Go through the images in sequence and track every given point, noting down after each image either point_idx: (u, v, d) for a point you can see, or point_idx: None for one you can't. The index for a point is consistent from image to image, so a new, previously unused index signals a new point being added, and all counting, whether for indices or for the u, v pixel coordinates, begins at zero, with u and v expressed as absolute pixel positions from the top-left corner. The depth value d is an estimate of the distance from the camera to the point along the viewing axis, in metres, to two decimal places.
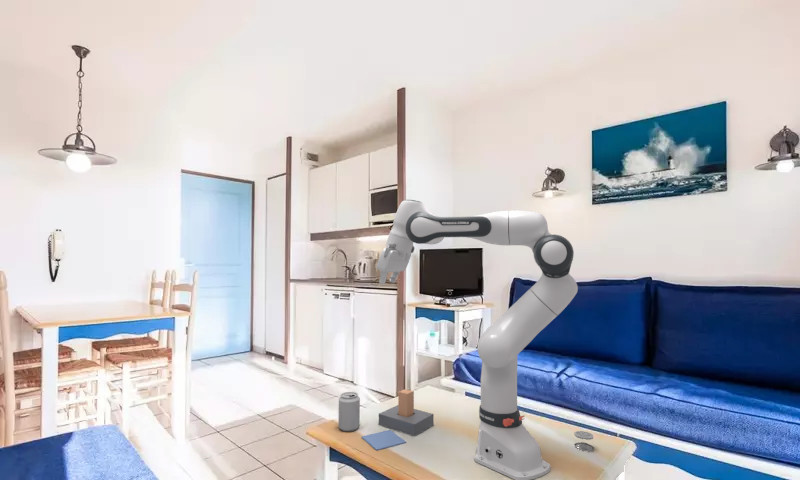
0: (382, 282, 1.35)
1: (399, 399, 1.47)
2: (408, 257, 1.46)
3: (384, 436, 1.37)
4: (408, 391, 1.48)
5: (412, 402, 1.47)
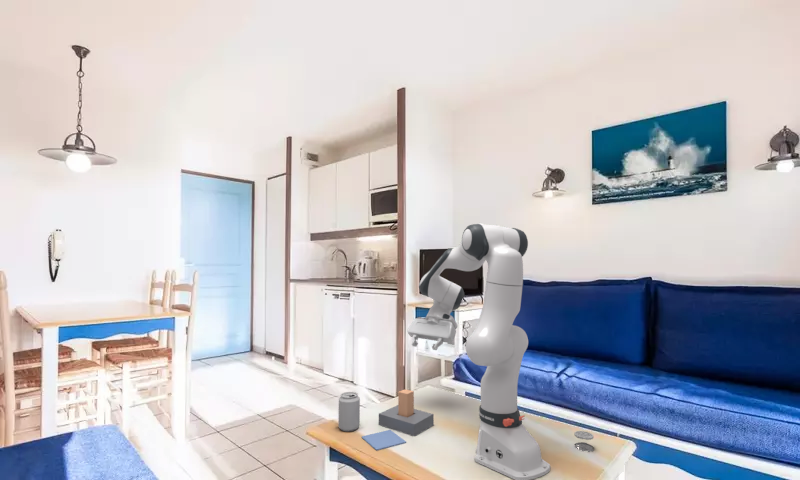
0: None
1: (399, 399, 1.47)
2: (448, 325, 1.59)
3: (384, 436, 1.37)
4: (408, 391, 1.48)
5: (412, 402, 1.47)
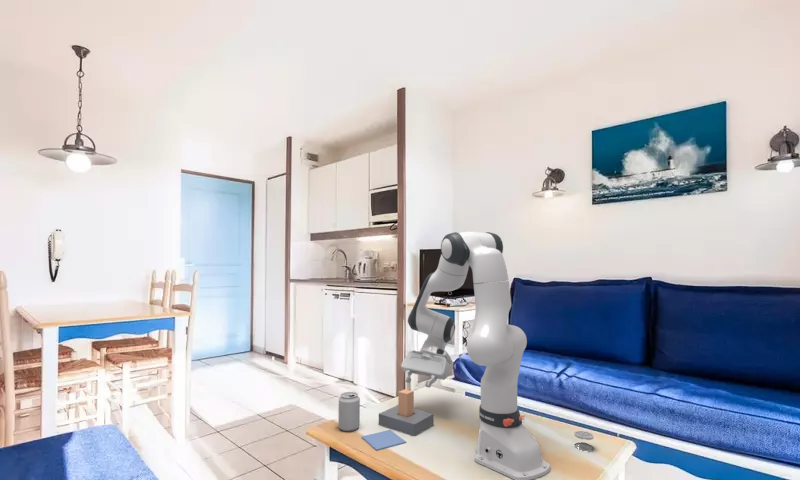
0: None
1: (399, 399, 1.47)
2: (442, 361, 1.54)
3: (384, 436, 1.37)
4: (408, 391, 1.48)
5: (412, 402, 1.47)
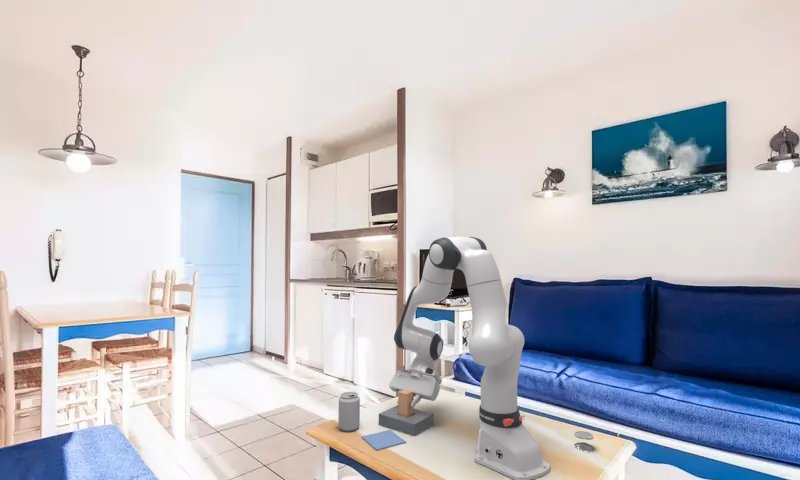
0: None
1: (399, 398, 1.47)
2: (431, 381, 1.47)
3: (384, 436, 1.37)
4: (408, 391, 1.48)
5: None
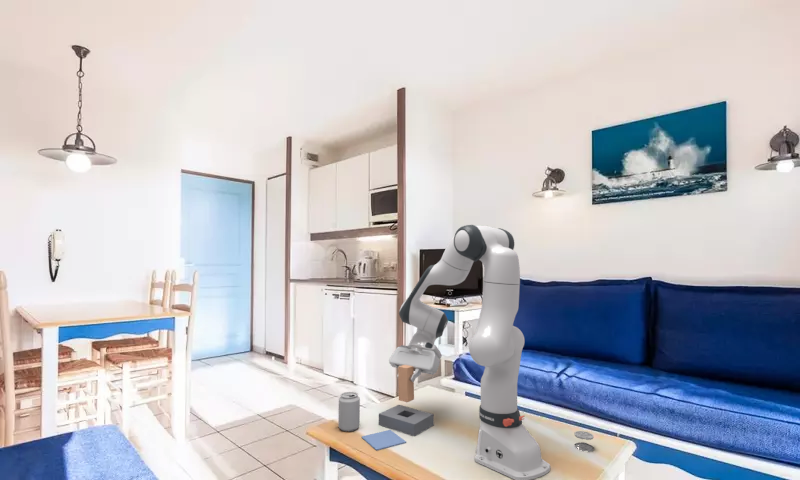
0: None
1: (399, 373, 1.48)
2: (431, 355, 1.48)
3: (384, 436, 1.37)
4: (407, 366, 1.48)
5: None
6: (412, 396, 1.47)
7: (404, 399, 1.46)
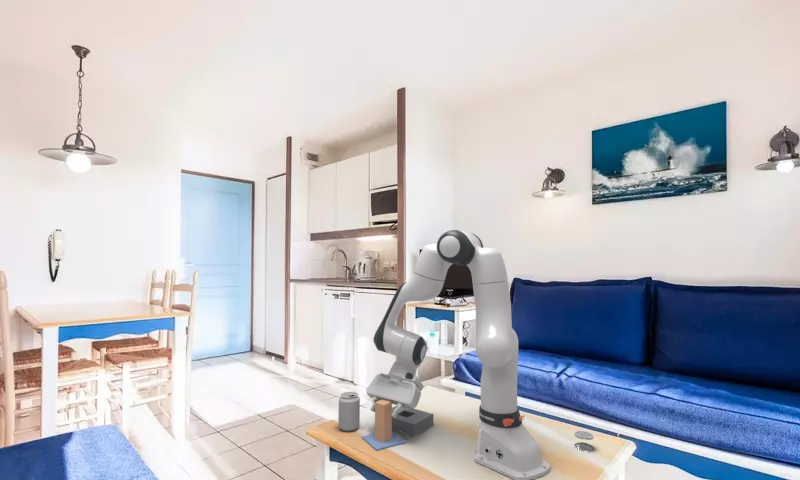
0: None
1: (376, 410, 1.35)
2: (411, 387, 1.35)
3: None
4: (385, 402, 1.35)
5: None
6: (389, 435, 1.34)
7: (380, 439, 1.33)
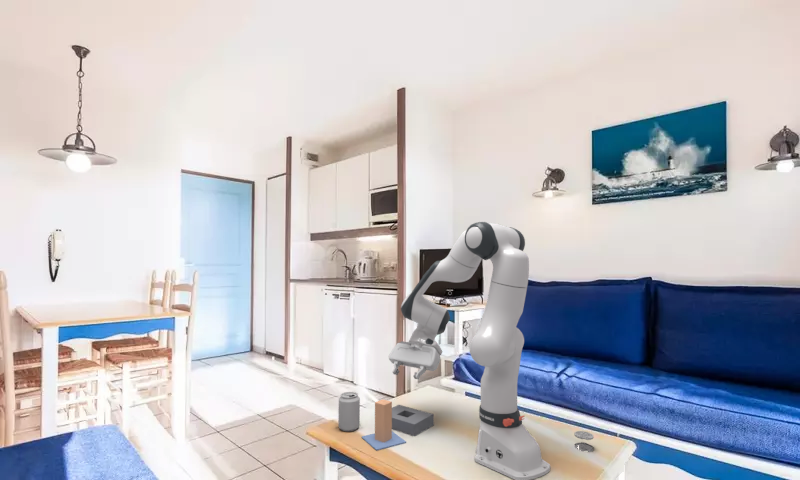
0: None
1: (376, 410, 1.35)
2: (431, 351, 1.45)
3: None
4: (385, 402, 1.35)
5: (390, 414, 1.35)
6: (389, 435, 1.34)
7: (380, 439, 1.33)
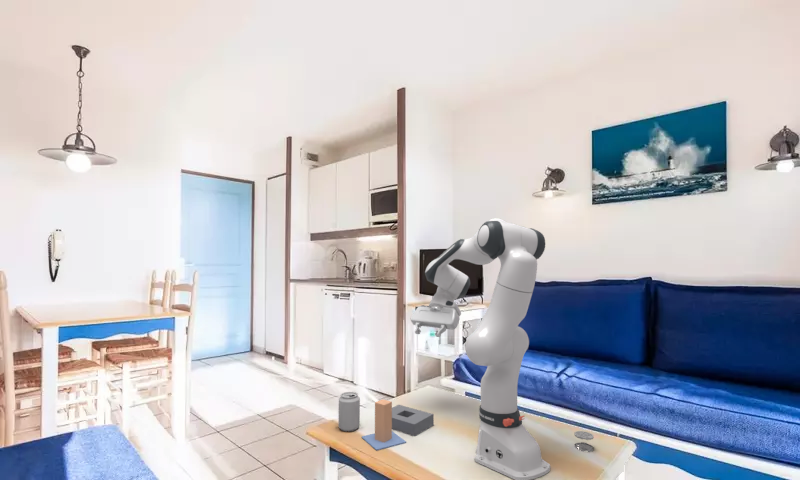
0: None
1: (376, 410, 1.35)
2: (451, 312, 1.56)
3: None
4: (385, 402, 1.35)
5: (390, 414, 1.35)
6: (389, 435, 1.34)
7: (380, 439, 1.33)
